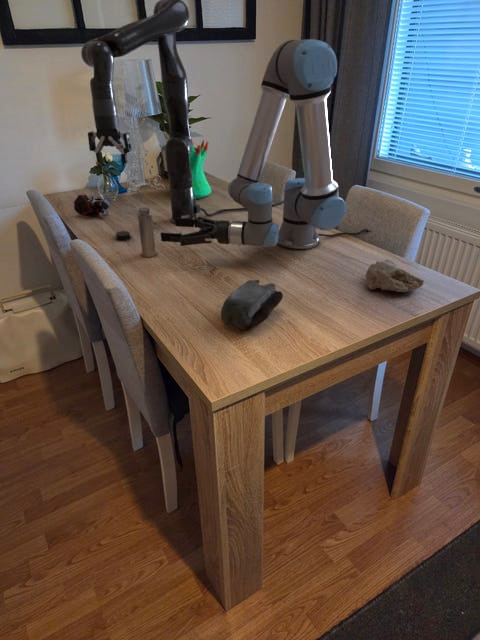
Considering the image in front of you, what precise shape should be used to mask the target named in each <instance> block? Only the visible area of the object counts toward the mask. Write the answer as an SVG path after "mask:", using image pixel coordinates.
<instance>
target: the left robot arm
mask: <svg viewBox="0 0 480 640" xmlns="http://www.w3.org/2000/svg"><path fill="white" fill-rule="evenodd" d="M189 21H190V10H189V8H188V5H187V4H186V3H185V2H184V1H183V0H157V1H156V3H155V4H154V8H153V13H152V15H149V16H147V17H144V18H141V19H138V20H136V21H132V22H130V23H127V24H125V25H122V26H121V27H119V28H116V29H114V30H113V31H111V32H110V33H107V34H105V35H102V36H99V37H96V38H93V39H90V40H89V41H87V42H86V43H84V44H83V45H82V48H81V50H80V55H81V60H82V61H83V63H84V64H85V65H87V66H88V67H91V68H92V69H93V76H92V77H91V79H90V80H89V87H90V93H91V100H92V101H91V104H92V112H93V118H94V125H95V130H96V132H95V131H93V130H91V131H88V132H87V136H88V137H87V139H88V148H89V151H90V152H94V153H95V157H96V162H97V163H98V165H103V164H104V159H103V158H104V157H103V152H102V151H103V149H104V147H115V148H116V150H118V151H119V152H120V160H121V166H124V167H125V166H127V164H128V163H129V161H128V153H130V152H132V150H133V149H132V148H133V147H132V142H131V137H130V133H129V132H123V133H121V131H120V123H119V116H118V109H117V102H116V97H115V91H114V90H115V89H114V85H113V82H114V81H113V80H114V69H115V59H116V58H121V57H124V56H126V55H128V54H130V53H131V52H134V51H135V50H137V49H139V48H141V47H143V46H144V45H147V44H148V43H150V42H153V41H154V40H156V42H157V48H158V55H159V56H158V57H159V66H160V77H161V93H162V99H163V103H164V106H165V110H166V114H167V116H168V117H167V118H168V122H169V138H168V139H167V140H168V142H167V141H166V143H165V146H164V147H165V148H164V154H165V164H166V172H167V174H168V182H169V189H170V193H169V195H170V196H169V197H170V206H171V207H170V208H171V209H170V210H171V222H172V223H174V224H175V218H184V219H193V220H194V219H195V218H197V214H200V213H201V211H202V212H204V214H205V215H206V216H207V217H213V216H216V215H217V214H220V213H222V212H231V211H235V212H236V211H248V210H247V209H246V208H244V207H239V208H235V207H234V208H223V209H219V210H217V211H215V212H214V213H208V212H207V210H206V209H204V208H202V207H201V205H199V204H196V199H195V197H194V196H193V181H192V171H191V168H190V153H191V150H192V143H191V138H192V137H191V132H190V125H189V124H190V123H189V87H188V85H189V84H188V76H187V75H188V74H187V72H186V69H185V67H184V65H183V62H182V60H181V57H180V55H179V52H178V48H177V38H176V33H178V32H181V31H183V30H185V29H186V28H187V26H188V24H189ZM96 138H97V139H98V140H99V141H98V143H97V144H96ZM121 139H122V140H123V142H122V141H121ZM280 204H284V200H281V201H278V202H274V203H272V207H274V206H277V205H280Z"/></svg>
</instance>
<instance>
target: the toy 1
mask: <svg viewBox="0 0 480 640" xmlns="http://www.w3.org/2000/svg"><path fill="white" fill-rule="evenodd" d="M95 197H96V195H95V194H90V196H87V195H86V194H78V195H77V197H76V198H75V199H74V201H73V209H74V211H75V212H76V213H77V214H78V215H80V216H82V217H88V218H93V219H99V220H100V219H101V220H102V219H103V218H102V216H101V214H102V215H103V216H107V215H108V214H109V210H108V209H109V207H110V205H111V203H110V202H109V201H108V200H107V199H106V198H100V197H98V198H95Z"/></svg>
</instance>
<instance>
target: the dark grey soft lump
mask: <svg viewBox="0 0 480 640" xmlns="http://www.w3.org/2000/svg"><path fill="white" fill-rule="evenodd" d="M283 297H284V294H283V292H282V291H281V290H280V291H278V290H277V288H276V285H275V283H272V282H271V283H267V284H264V285H263V284H260V280H259V279H255V280H254V279H253V280H252V279H248V280H247V281H246V282H244V283H243V284H241V285H240V286H238V287H237V288H235V290H233V291H232V292H231V293H230V294H229V295H228V296H227V298H226V299H225V301H224V303H223V305H222V307H221V312H220V319H221V320H222V321H223V322H224V323H226V324H231V323H233V324H234V326H235V327H237V328H238V329H240V330H245V331H246V332H249V331H251V330H252V329H253V328H255V327H256V326H258V325H260V324H262V323H263V322H264V321H265V320H267V319H268V317H270V315H271V313H272V311H273V310H274V309H275V308H276V307H278V305H279V304H281V301H282V300H283Z"/></svg>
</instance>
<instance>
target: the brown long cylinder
mask: <svg viewBox="0 0 480 640" xmlns="http://www.w3.org/2000/svg"><path fill="white" fill-rule="evenodd" d="M137 218H138V228H139V235H140V244H141V252H142V257H145V258H153V257H155V256H156V252H157V251H156V243H155V234H154V225H153V224H154V223H153V215H152V212H151V208H150V207H147V206H143V207H139V208H138V214H137Z"/></svg>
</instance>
